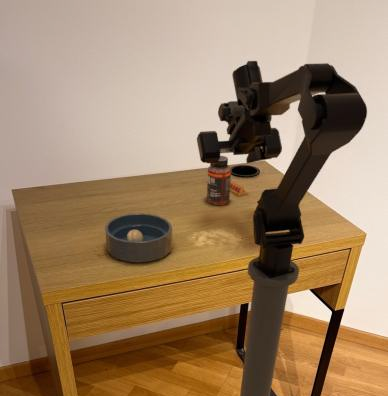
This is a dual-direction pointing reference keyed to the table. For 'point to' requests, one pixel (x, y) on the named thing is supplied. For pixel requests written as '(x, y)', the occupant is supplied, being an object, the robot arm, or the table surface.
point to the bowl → (143, 250)
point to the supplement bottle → (219, 182)
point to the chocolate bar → (237, 188)
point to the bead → (134, 236)
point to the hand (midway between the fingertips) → (229, 162)
